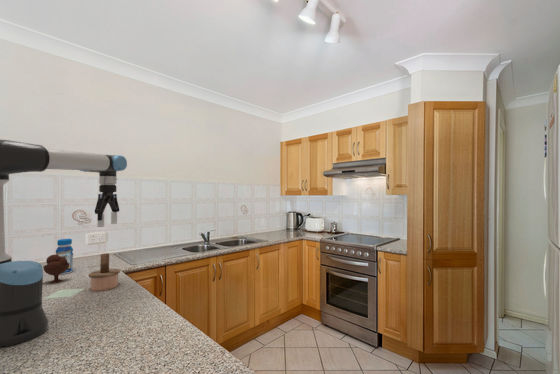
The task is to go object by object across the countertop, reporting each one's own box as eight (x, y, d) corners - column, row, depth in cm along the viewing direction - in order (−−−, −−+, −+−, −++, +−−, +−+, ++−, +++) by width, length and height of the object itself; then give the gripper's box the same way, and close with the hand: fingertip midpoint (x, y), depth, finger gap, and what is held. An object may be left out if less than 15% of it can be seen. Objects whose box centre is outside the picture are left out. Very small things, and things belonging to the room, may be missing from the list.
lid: (112, 277, 125) (113, 256, 126) (82, 278, 123) (83, 257, 123) (124, 269, 138) (124, 251, 138) (97, 271, 136) (97, 252, 136)
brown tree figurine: (54, 286, 133) (54, 257, 134) (36, 285, 135) (37, 256, 136) (74, 280, 143) (75, 252, 144) (58, 279, 146) (58, 251, 146)
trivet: (71, 298, 118) (71, 296, 118) (43, 299, 116) (43, 298, 116) (85, 289, 129) (85, 288, 129) (60, 291, 127) (60, 289, 127)
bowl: (111, 291, 126) (111, 276, 126) (85, 292, 124) (85, 278, 124) (121, 283, 137) (121, 270, 137) (98, 285, 135) (98, 271, 135)
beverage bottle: (76, 270, 162) (77, 238, 162) (63, 275, 153) (64, 240, 154) (64, 270, 162) (64, 238, 163) (50, 274, 154) (51, 240, 155)
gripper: (103, 183, 125) (102, 228, 124) (126, 185, 150) (126, 222, 149) (86, 183, 124) (85, 228, 123) (112, 185, 149) (111, 222, 148)
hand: (107, 225), depth 136 cm, fingers open, 13 cm apart
